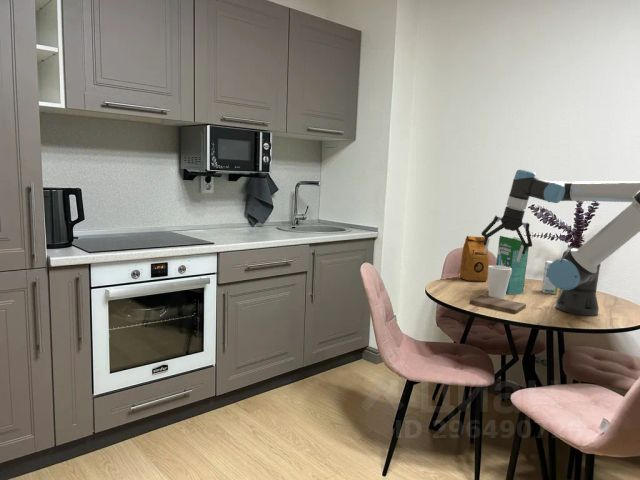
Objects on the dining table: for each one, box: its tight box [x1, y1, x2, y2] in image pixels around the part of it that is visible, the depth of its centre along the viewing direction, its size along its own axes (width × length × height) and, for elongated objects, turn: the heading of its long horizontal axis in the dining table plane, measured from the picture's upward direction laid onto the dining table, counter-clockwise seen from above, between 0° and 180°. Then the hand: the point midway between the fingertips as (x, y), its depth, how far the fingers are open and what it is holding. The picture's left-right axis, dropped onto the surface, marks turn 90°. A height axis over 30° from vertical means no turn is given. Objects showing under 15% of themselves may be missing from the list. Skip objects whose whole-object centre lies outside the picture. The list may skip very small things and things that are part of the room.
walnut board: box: [469, 294, 527, 315], centre depth 194 cm, size 18×13×2 cm
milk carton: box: [495, 235, 530, 295], centre depth 219 cm, size 9×9×25 cm
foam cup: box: [487, 264, 512, 299], centre depth 207 cm, size 10×9×13 cm
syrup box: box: [541, 260, 558, 295], centre depth 223 cm, size 6×6×14 cm
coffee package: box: [459, 235, 490, 282], centre depth 239 cm, size 10×12×22 cm
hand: (501, 257), depth 203 cm, fingers open, 13 cm apart
